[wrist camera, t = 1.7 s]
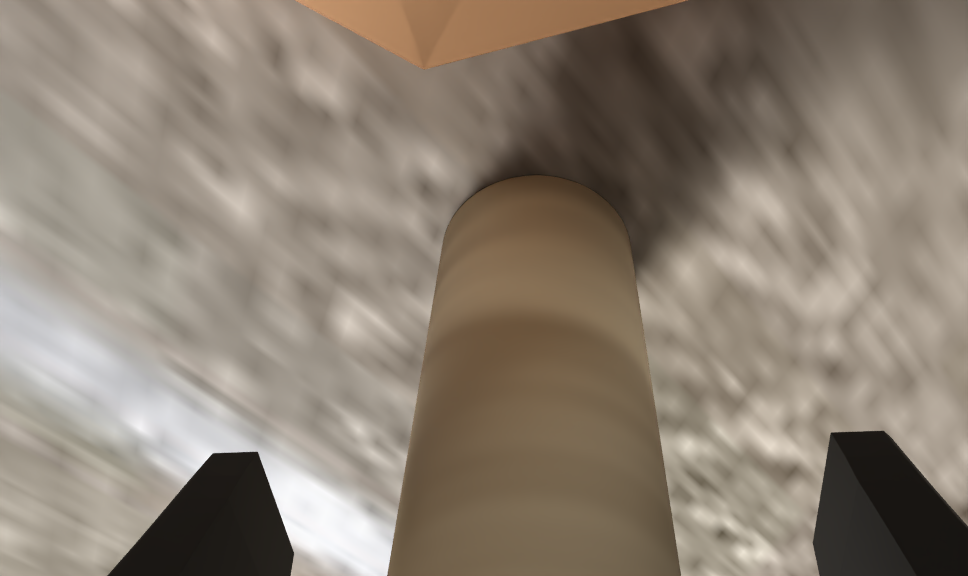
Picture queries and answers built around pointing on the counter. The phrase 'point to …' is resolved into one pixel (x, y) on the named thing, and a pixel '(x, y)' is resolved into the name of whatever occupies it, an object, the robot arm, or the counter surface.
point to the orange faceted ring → (469, 23)
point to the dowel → (535, 399)
